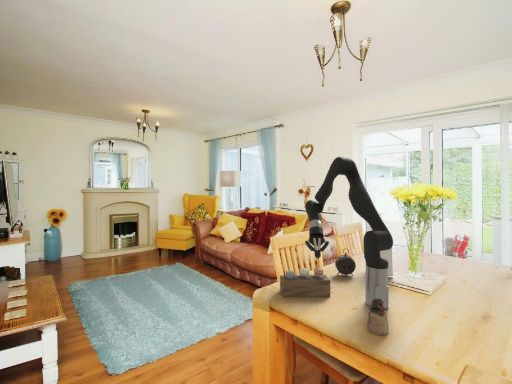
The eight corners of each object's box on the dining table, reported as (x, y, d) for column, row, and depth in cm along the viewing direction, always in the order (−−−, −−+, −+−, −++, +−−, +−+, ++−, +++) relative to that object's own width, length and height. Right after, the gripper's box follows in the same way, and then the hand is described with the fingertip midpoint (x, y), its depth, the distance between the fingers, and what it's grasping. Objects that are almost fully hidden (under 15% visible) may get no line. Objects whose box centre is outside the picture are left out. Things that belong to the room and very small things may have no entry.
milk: (388, 271, 166) (389, 229, 165) (392, 277, 155) (393, 232, 154) (367, 269, 169) (368, 228, 168) (370, 275, 158) (370, 231, 157)
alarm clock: (353, 274, 160) (354, 247, 159) (356, 277, 155) (356, 249, 154) (334, 274, 161) (335, 247, 160) (336, 277, 156) (336, 249, 155)
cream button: (310, 275, 130) (310, 270, 130) (301, 275, 130) (301, 270, 130) (307, 272, 134) (307, 267, 134) (299, 272, 134) (299, 267, 134)
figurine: (382, 325, 103) (382, 294, 103) (392, 335, 96) (392, 302, 96) (364, 325, 103) (364, 294, 102) (372, 336, 96) (372, 302, 95)
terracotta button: (324, 275, 130) (324, 270, 130) (315, 275, 130) (315, 270, 130) (321, 272, 135) (321, 267, 135) (313, 272, 135) (313, 267, 135)
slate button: (295, 278, 130) (295, 273, 130) (286, 278, 130) (286, 273, 130) (293, 275, 134) (293, 270, 134) (285, 275, 134) (285, 270, 134)
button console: (330, 296, 129) (330, 279, 129) (282, 297, 128) (282, 280, 128) (325, 290, 137) (325, 273, 137) (280, 291, 136) (280, 274, 136)
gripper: (303, 225, 148) (305, 253, 136) (328, 225, 146) (332, 254, 134) (303, 233, 153) (304, 261, 141) (327, 233, 151) (330, 261, 140)
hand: (317, 257), depth 138 cm, fingers closed
